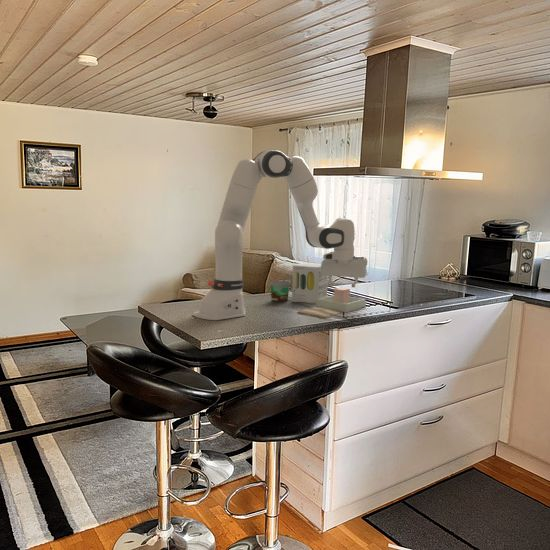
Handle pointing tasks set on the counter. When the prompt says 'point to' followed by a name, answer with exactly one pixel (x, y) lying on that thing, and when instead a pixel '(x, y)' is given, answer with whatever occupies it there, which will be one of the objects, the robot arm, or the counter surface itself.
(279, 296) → the food container
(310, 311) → the pad
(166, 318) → the counter surface
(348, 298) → the block
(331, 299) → the bin
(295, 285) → the supplement box
